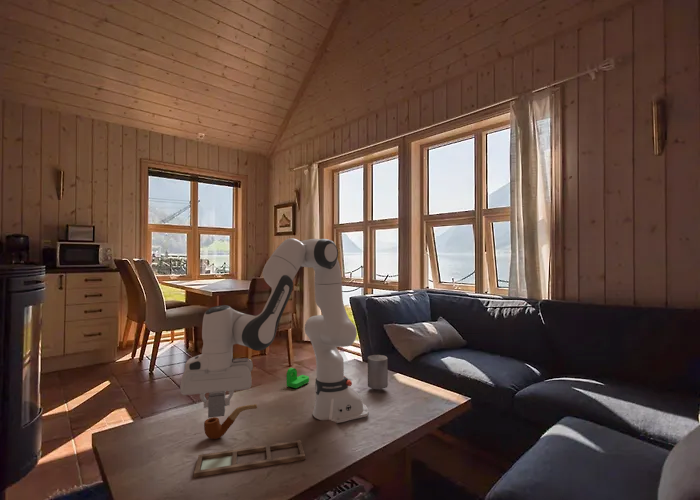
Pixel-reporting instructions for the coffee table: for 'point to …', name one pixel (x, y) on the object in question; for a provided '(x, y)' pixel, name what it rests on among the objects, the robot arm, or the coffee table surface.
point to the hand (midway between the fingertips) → (216, 405)
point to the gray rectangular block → (216, 404)
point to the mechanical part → (295, 378)
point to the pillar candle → (377, 372)
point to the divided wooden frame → (227, 463)
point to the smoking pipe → (216, 429)
